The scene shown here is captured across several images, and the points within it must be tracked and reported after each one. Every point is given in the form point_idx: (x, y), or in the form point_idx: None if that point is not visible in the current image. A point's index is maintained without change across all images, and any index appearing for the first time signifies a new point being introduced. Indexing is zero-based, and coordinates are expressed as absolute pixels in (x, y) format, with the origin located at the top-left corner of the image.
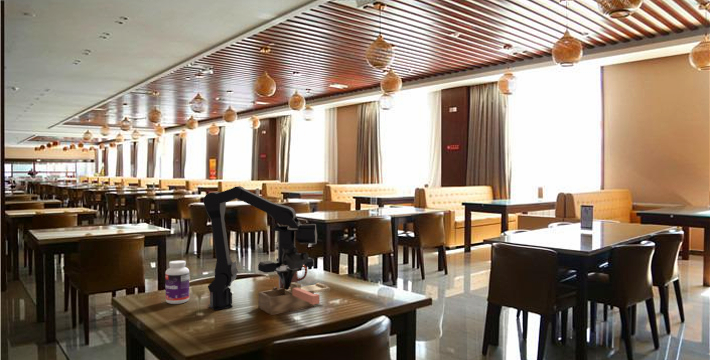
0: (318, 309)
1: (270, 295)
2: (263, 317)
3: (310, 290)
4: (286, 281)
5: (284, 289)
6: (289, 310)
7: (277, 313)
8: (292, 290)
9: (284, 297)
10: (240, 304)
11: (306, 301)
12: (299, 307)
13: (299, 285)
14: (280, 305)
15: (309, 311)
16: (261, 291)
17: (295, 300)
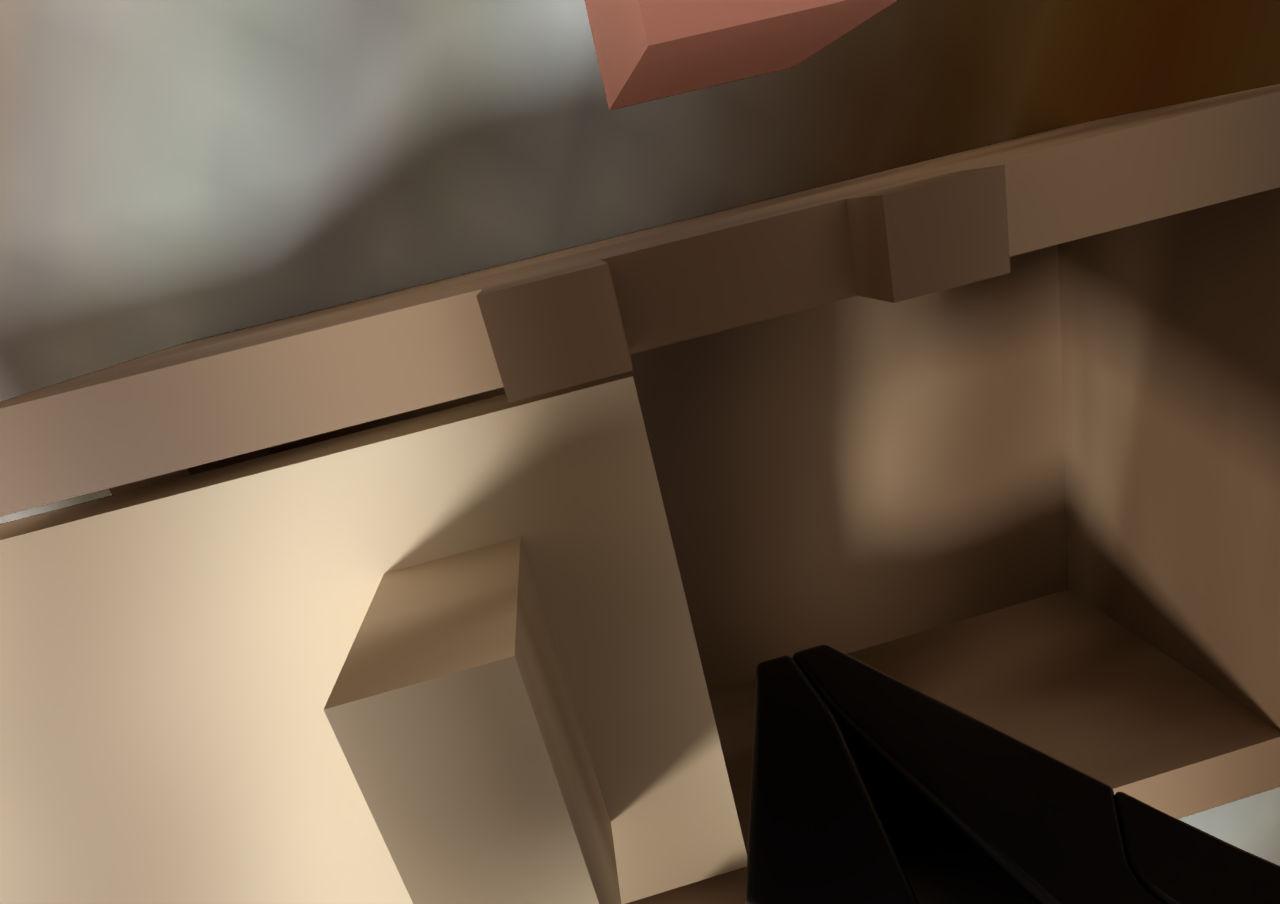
0: (108, 106)
1: (1023, 719)
2: (1218, 41)
3: (52, 601)
4: (997, 797)
5: (739, 882)
6: (724, 210)
7: (954, 154)
8: (864, 14)
9: (983, 161)
10: (1192, 817)
11: (317, 315)
12: (509, 265)
13: (392, 676)
14: (978, 154)
15: (337, 39)
16: (1270, 786)
17: (614, 247)
